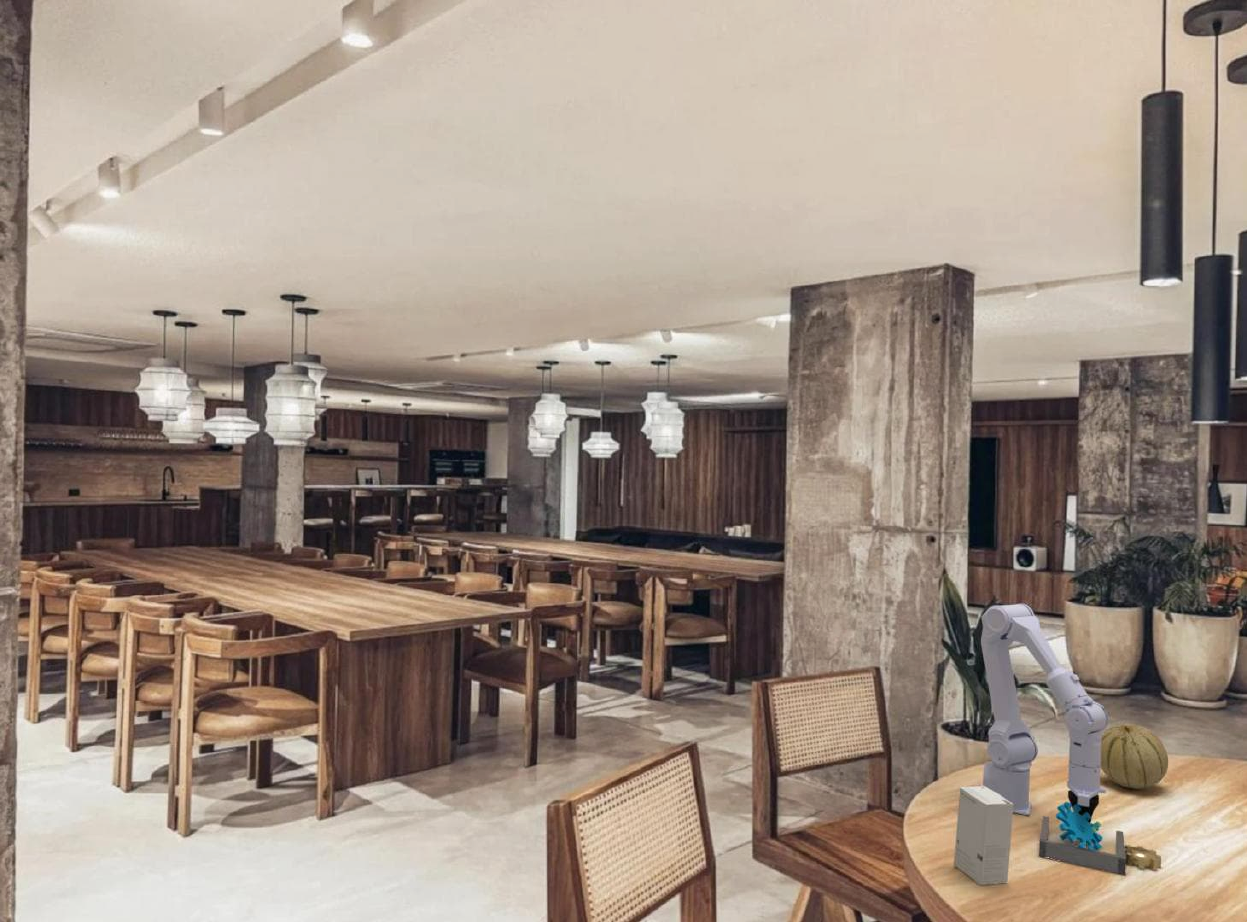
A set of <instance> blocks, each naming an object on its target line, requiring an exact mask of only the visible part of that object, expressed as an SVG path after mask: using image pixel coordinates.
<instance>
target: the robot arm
mask: <svg viewBox="0 0 1247 922" xmlns="http://www.w3.org/2000/svg"><path fill="white" fill-rule="evenodd" d="M981 623H982V631H981V632H982V633H981V638H980V646H981V651H982V655H983V662H984V668H985V674H986V679H987V684H988V689H989V694H990V701H991V708H992V715H993V719H994V723H993V724H992V726H991V727H990V728H989V730H988V732H987V734H988V743H987V749H986V750H987V754H988V757H989V759H990V761H984V766H983V776H982V786H985V787H987V788H989V789H990V790H992V791H994V792H996V793H998V794H1000V795H1001V796H1002V797H1003V798H1005V799H1006V800H1008V801H1009V802H1011V803H1013V814H1018V815H1019V814H1020V815H1023V816H1024V815H1025V816H1030V815H1031V809H1032V802H1031V801H1030V782H1031V781H1030V780H1031V779H1030V778H1031V777H1030V776H1031V767H1032V762H1033V761H1034V760H1036V759H1037V757H1038V753H1039V748H1038V745H1037V741H1035V738H1034V737H1033V735H1032V731H1031V727H1030V726H1029V725H1028V724H1027V723H1025V722H1024V720H1022V715H1021V711H1020V705H1019V700H1018V694H1017V688H1016V687H1017V686H1016V684H1015V678H1014V677H1015V676H1014V672H1013V667H1012V661H1011V660H1012V659H1011V655H1010V651H1009V648H1010V647H1011V645H1012V644H1013V643H1014V642H1017V643H1020V644H1023V645H1024V646H1025V647H1026V649H1027V650H1028V651H1029V653H1030V654H1031V655H1032V656H1033V658H1034V659H1035V661H1036V662H1037V664H1038V665H1039V666H1040V667H1041V669H1042V670H1043V671H1044V673H1045V674H1046V676H1047V677H1046V678H1047V679H1046V686H1047V687H1048V689H1049V691H1050V692H1051V693H1052V695H1053V696H1054V698H1055V699H1056V701H1057V702H1058V704H1059V705H1060V707H1061V709H1062V710H1063V712H1064V713H1065V715H1064V716H1063V721H1064V724H1065V727H1066V728H1067V730H1068V737H1069V751H1068V753H1069V754H1068V777H1067V782H1066V786H1067V788H1068V789H1069V790H1068V791H1067V798H1068V801H1069V803H1071V805H1072V807H1071V809H1073V806H1074V805H1076V804H1077V805H1078V806H1079V807H1080V808H1081V810H1080V811H1079V812H1078V813H1079V814H1080V815H1083V814H1084V813H1086V812H1088V813H1089V815H1090V816H1091V819H1089V820H1086V821H1088V822H1089V823H1092V818H1093V815H1094V813H1095V811H1096V808H1097V807H1098V805H1099V804H1100V795H1099V794H1101V793H1102V794H1106V793H1107V788H1106V787H1105V786H1101V767H1100V766H1101V739H1102V734H1103V732H1102V731H1103V730H1104V729H1106V728H1107V726H1108V724H1109V716H1108V713H1107V711H1106V709H1105V707H1104V706H1103V705H1102V704H1100V703H1098V702H1096V701H1094V700H1093V698H1092V697H1091V696H1089V695H1088V692H1086V691H1085V688H1084V687H1083V685H1082V683H1080V677H1079V676H1078V675H1077V674H1074V672H1073V671H1072V670H1071V669H1070V670H1069V669H1067V668H1064V667H1063V665H1062V664H1061V662H1060V661H1059V659H1058V657H1057V655H1056V654H1055V652H1054V651H1053V649H1052V647H1051V646H1050V643H1049V642H1048V640H1047V639H1046V637H1045V635H1044V633H1043V631H1042V630H1041V628H1040V627H1041V626H1040V619H1038V617H1037V616H1036V615H1035V613H1034V611H1033V610H1032V608H1031V607H1030V606H1028V605H1027V604H1026V603H1016V604H1009V605H1008V604H1007V605H991V606H990V607H988V609H986V611H985V612H984V613H982V615H981Z"/></svg>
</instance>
